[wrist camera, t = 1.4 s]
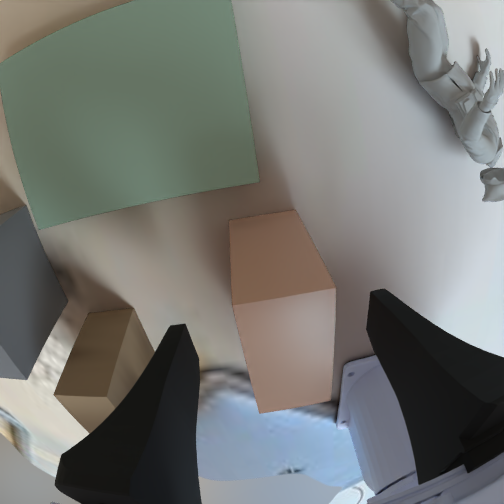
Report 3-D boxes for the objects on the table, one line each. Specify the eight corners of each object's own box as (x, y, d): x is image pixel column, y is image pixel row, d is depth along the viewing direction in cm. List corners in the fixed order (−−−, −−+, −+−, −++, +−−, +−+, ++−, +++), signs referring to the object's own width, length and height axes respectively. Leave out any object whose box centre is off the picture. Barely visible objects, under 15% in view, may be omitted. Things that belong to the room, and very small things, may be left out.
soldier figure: (408, -44, 8) (550, 135, 10) (357, 6, 13) (490, 167, 14) (358, -80, 5) (580, 212, 6) (284, 9, 9) (483, 250, 10)
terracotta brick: (303, 311, 17) (330, 400, 12) (249, 320, 17) (259, 413, 12) (295, 209, 14) (336, 287, 9) (229, 220, 14) (232, 305, 9)
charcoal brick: (68, 300, 16) (27, 380, 10) (33, 305, 16) (-10, 376, 10) (26, 204, 13) (-46, 267, 7) (-8, 217, 13) (-74, 276, 7)
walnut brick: (167, 376, 19) (158, 456, 14) (127, 378, 19) (111, 453, 14) (134, 307, 16) (106, 396, 11) (88, 312, 16) (53, 394, 11)
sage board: (256, 172, 13) (260, 182, 12) (53, 216, 13) (39, 229, 12) (227, -9, 9) (227, -20, 8) (15, 64, 9) (-3, 65, 8)
